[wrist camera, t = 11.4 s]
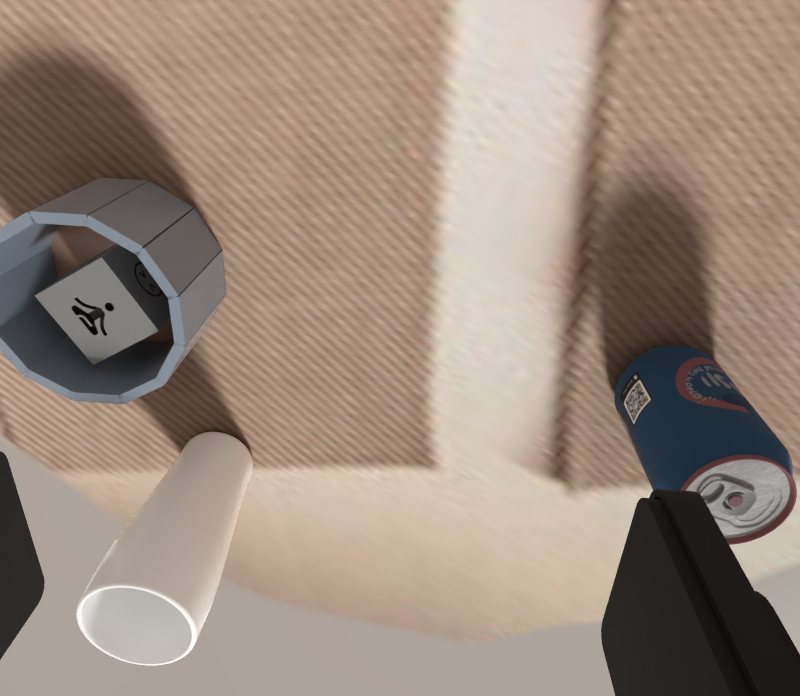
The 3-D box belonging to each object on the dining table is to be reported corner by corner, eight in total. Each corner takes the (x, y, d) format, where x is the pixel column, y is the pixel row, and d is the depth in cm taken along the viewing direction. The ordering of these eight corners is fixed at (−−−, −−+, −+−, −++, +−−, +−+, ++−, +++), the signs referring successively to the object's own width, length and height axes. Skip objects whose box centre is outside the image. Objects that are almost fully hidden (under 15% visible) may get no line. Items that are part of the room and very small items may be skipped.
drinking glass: (220, 504, 50) (141, 682, 36) (157, 448, 47) (47, 615, 34) (283, 465, 47) (223, 639, 34) (219, 404, 45) (129, 564, 32)
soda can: (737, 358, 41) (841, 476, 31) (678, 437, 44) (754, 569, 34) (644, 321, 40) (718, 429, 30) (590, 404, 43) (640, 529, 33)
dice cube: (79, 265, 40) (34, 295, 35) (140, 229, 38) (101, 257, 34) (129, 328, 42) (93, 365, 37) (189, 296, 40) (158, 331, 36)
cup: (33, 173, 38) (-53, 206, 31) (216, 184, 38) (169, 219, 31) (70, 338, 43) (3, 396, 36) (231, 348, 43) (193, 409, 36)
